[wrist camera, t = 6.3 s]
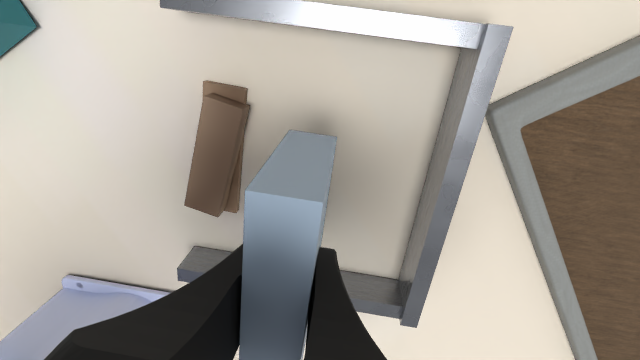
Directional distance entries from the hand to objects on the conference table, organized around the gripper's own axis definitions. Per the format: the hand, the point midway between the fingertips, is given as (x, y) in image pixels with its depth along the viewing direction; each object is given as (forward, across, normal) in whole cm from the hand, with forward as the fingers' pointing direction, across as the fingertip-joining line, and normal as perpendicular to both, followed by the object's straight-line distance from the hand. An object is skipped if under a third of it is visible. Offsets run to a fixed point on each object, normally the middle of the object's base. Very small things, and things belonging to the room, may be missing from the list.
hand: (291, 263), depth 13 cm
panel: (+3, 0, 0) cm, 3 cm away
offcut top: (+8, +6, -1) cm, 10 cm away
